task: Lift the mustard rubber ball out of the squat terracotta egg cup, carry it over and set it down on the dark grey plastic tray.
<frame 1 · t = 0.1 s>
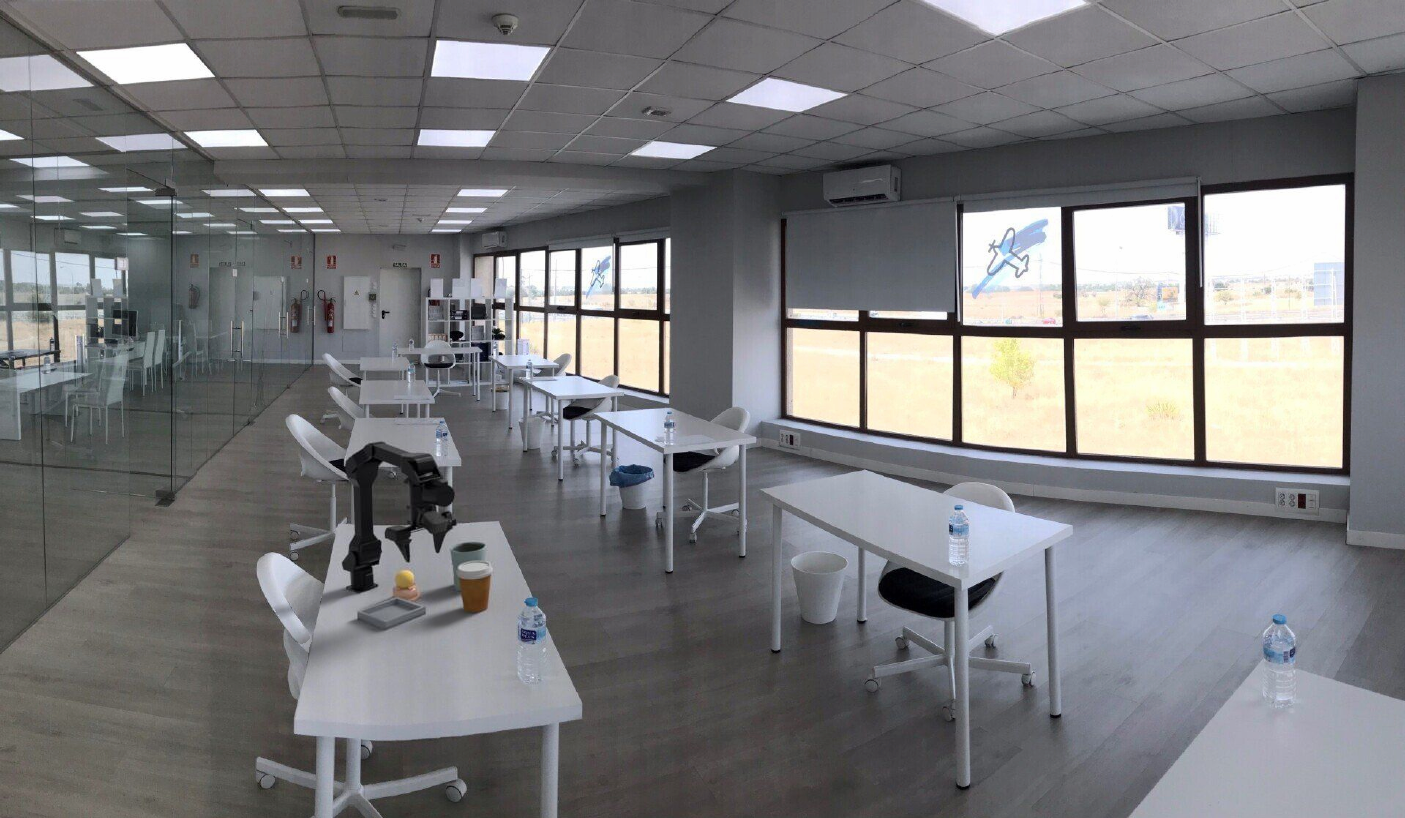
hand: (423, 557, 200), 15 cm above the table, fingers open, 9 cm apart
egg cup: (405, 597, 209), on the table
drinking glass: (469, 586, 219), on the table
ball: (405, 587, 209), point 3 cm above the table, touching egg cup
tray: (392, 616, 197), on the table
disposable coffee cup: (475, 608, 203), on the table
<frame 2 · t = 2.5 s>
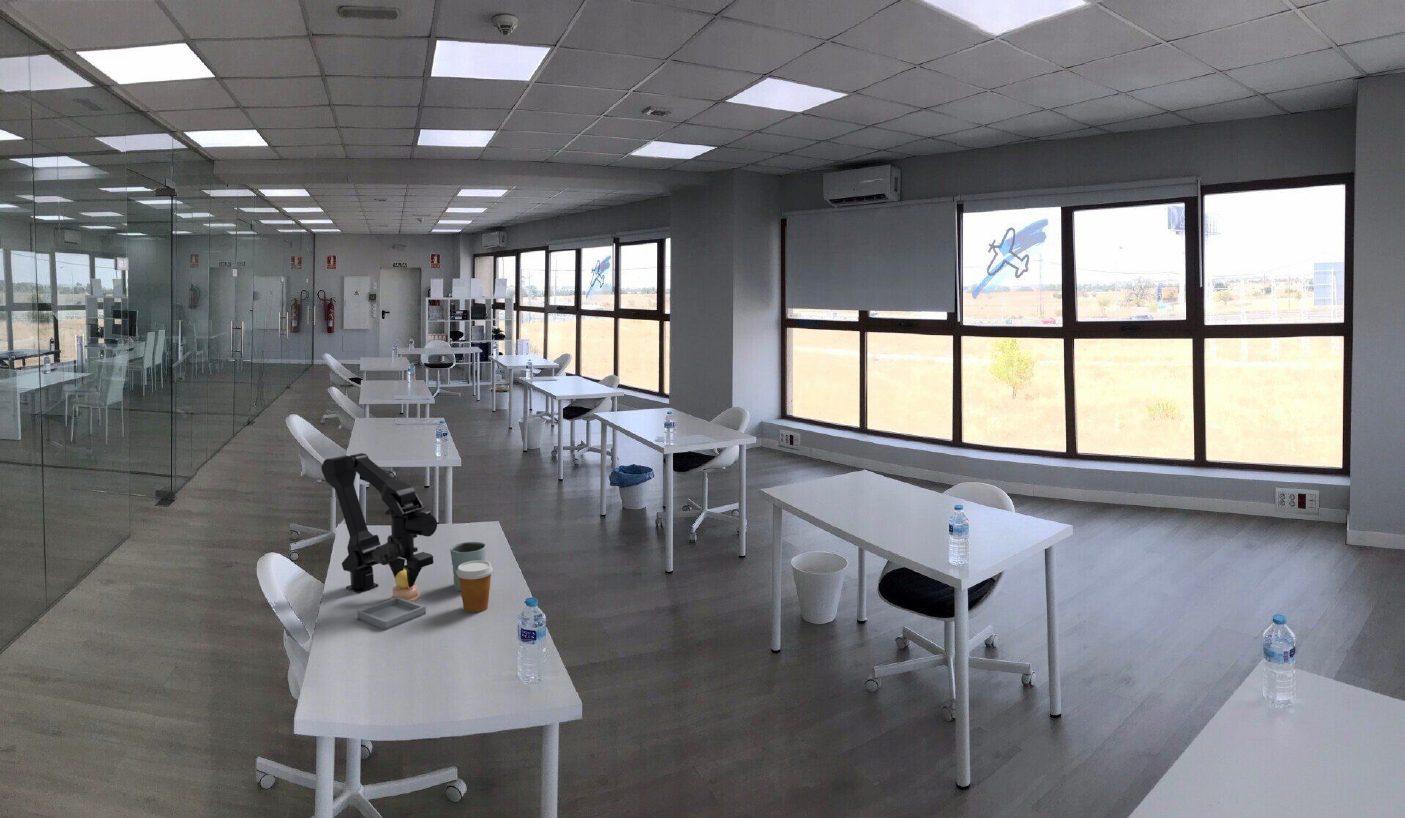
hand: (404, 584, 209), 4 cm above the table, fingers closed on ball, 5 cm apart
ball: (405, 587, 209), point 3 cm above the table, touching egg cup, gripper
everything else where it was.
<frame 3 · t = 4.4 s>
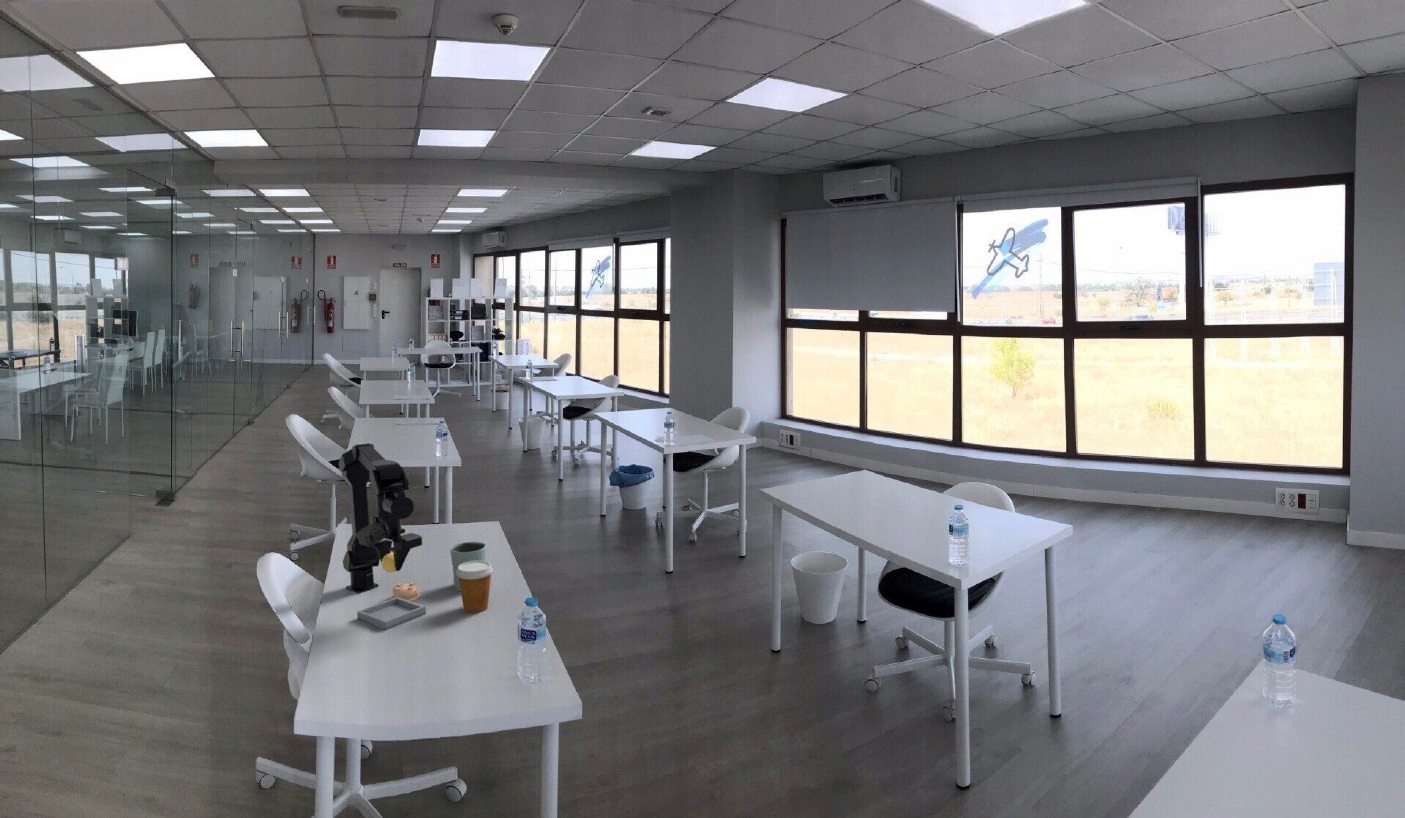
hand: (391, 568, 196), 13 cm above the table, fingers closed on ball, 5 cm apart
ball: (392, 571, 196), point 12 cm above the table, touching gripper
everything else where it was.
when the fingers open (3 cm above the table, at t = 6.7 s): ball drops 2 cm, resting on tray.
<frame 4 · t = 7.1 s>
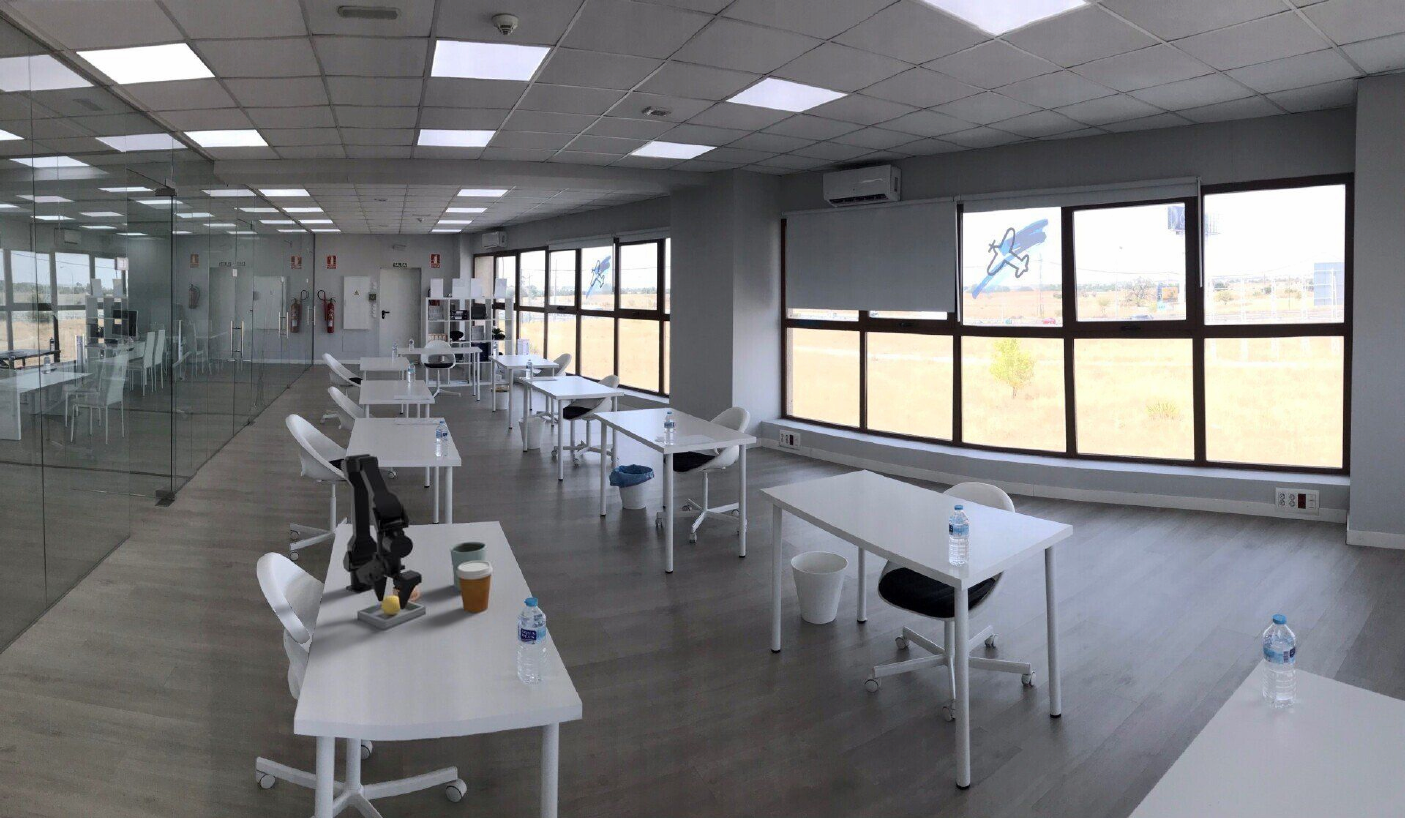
hand: (391, 604, 196), 3 cm above the table, fingers open, 9 cm apart
ball: (392, 614, 197), point 1 cm above the table, touching tray
everything else where it was.
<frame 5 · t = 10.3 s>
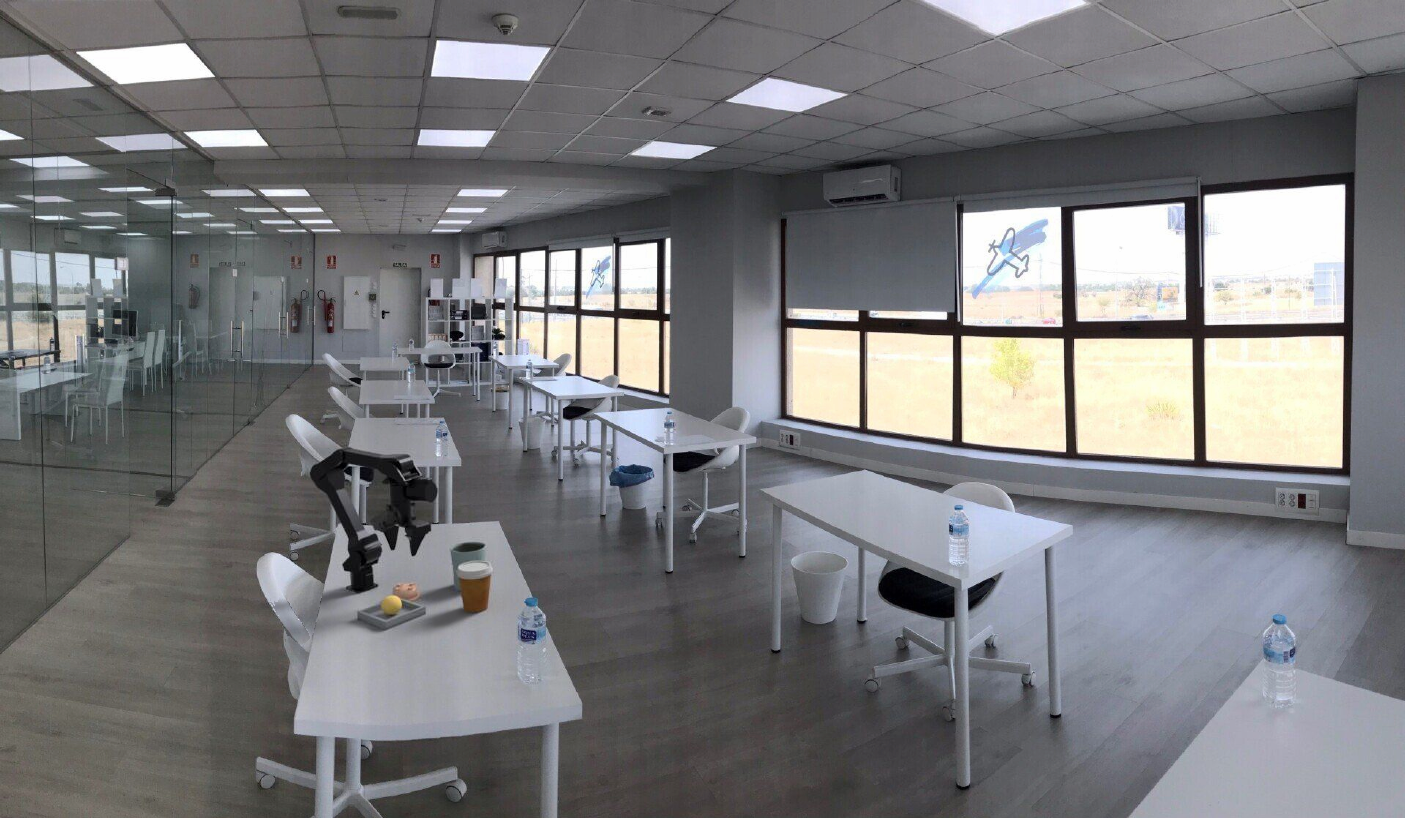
hand: (403, 552, 211), 12 cm above the table, fingers open, 9 cm apart
nothing on the table moved.
at the end: ball inside the target area on the tray (0.1 cm from its centre), point 0.6 cm above the tray's base; ball touching tray; the gripper is holding nothing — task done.
